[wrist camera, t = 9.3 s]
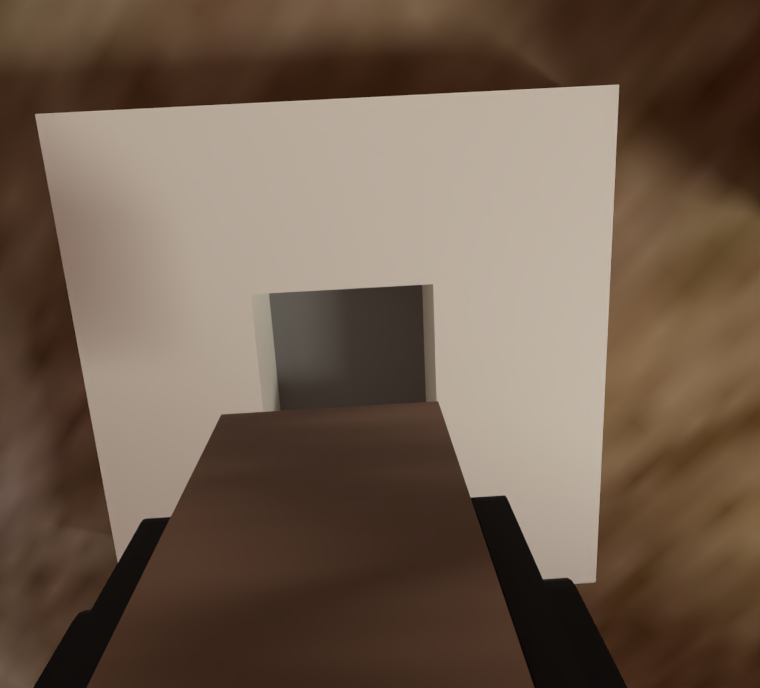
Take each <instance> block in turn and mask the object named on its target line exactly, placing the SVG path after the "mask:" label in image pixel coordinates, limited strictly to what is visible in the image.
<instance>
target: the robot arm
mask: <svg viewBox="0 0 760 688" xmlns="http://www.w3.org/2000/svg"><path fill="white" fill-rule="evenodd" d="M471 500H472V503H473V506H474V509H475V512H476V515H477V518H478V521H479V524H480V527H481V530H482V533H483V536H484V539H485V542H486V545H487V548H488V551H489V554H490V557H491V560H492V563H493V566H494V569H495V572H496V575H497V578H498V581H499V584H500V587H501V590H502V593H503V596H504V599H505V602H506V605H507V608H508V611H509V614H510V616H511V619H512V622H513V625H514V628H515V631H516V634H517V637H518V640H519V643H520V646H521V649H522V652H523V655H524V658H525V661H526V664H527V667H528V670H529V673H530V676H531V679H532V682H533V685H534V688H627V686H626V684H625V682H624V680H623V678H622V676H621V674H620V673H619V671H618V669H617V667H616V665H615V663H614V661H613V659H612V657H611V655H610V653H609V651H608V649H607V647H606V645H605V643H604V641H603V639H602V637H601V635H600V633H599V631H598V629H597V627H596V625H595V623H594V621H593V619H592V617H591V615H590V613H589V611H588V610H587V608H586V606H585V604H584V602H583V600H582V598H581V596H580V594H579V592H578V590H577V588H576V586H575V585H574V583H573V582H572V580H571V579H569V578H555V579H543V578H542V576H541V574H540V572H539V569H538V567H537V565H536V563H535V560H534V558H533V556H532V553H531V551H530V549H529V547H528V544H527V542H526V540H525V538H524V535H523V533H522V531H521V528H520V526H519V524H518V522H517V519H516V517H515V515H514V513H513V510H512V508H511V506H510V503H509V501H508V499H507V497H506V496H504V495H503V496H487V497H472V498H471ZM170 518H171V517H163V518H147V519H143V520H142V522H141V523H140V525H139V526H138V528H137V530H136V532H135V533H134V535H133V537H132V539H131V541H130V542H129V544H128V546H127V548H126V549H125V551H124V553H123V555H122V556H121V558H120V560H119V562H118V563H117V565H116V567H115V569H114V571H113V572H112V574H111V576H110V578H109V579H108V581H107V583H106V585H105V586H104V588H103V590H102V592H101V594H100V595H99V597H98V599H97V601H96V602H95V604H94V606H93V608H92V609H91V610H85V611H83V612H81V613H79V614H78V615H77V616H76V618H75V619H74V620H73V622H72V623H71V625H70V627H69V628H68V630H67V632H66V633H65V635H64V637H63V639H62V640H61V642H60V644H59V645H58V647H57V649H56V650H55V652H54V654H53V655H52V657H51V659H50V661H49V662H48V664H47V666H46V667H45V669H44V671H43V672H42V674H41V676H40V677H39V679H38V681H37V683H36V684H35V686H34V688H87V686H88V684H89V682H90V680H91V678H92V676H93V674H94V672H95V670H96V668H97V666H98V664H99V661H100V659H101V657H102V655H103V653H104V651H105V649H106V647H107V645H108V643H109V641H110V639H111V637H112V635H113V633H114V631H115V629H116V627H117V625H118V623H119V621H120V619H121V617H122V615H123V613H124V611H125V609H126V607H127V605H128V603H129V601H130V599H131V597H132V595H133V593H134V591H135V588H136V586H137V584H138V582H139V580H140V578H141V576H142V574H143V572H144V570H145V568H146V566H147V564H148V562H149V560H150V558H151V556H152V554H153V552H154V550H155V548H156V546H157V544H158V542H159V540H160V538H161V536H162V534H163V532H164V530H165V528H166V526H167V524H168V522H169V520H170Z"/></svg>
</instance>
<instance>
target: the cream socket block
mask: <svg viewBox="0 0 760 688" xmlns="http://www.w3.org/2000/svg"><path fill="white" fill-rule="evenodd" d="M618 101H619V85H600V86H580V87H560V88H540V89H521V90H501V91H481V92H461V93H441V94H421V95H402V96H382V97H362V98H342V99H322V100H302V101H283V102H263V103H243V104H223V105H203V106H183V107H164V108H144V109H124V110H104V111H84V112H64V113H45V114H35V118H36V123H37V128H38V134H39V139H40V145H41V150H42V155H43V161H44V166H45V172H46V177H47V183H48V188H49V193H50V199H51V204H52V210H53V215H54V221H55V226H56V231H57V237H58V242H59V248H60V253H61V258H62V264H63V269H64V275H65V280H66V286H67V291H68V296H69V302H70V307H71V313H72V318H73V324H74V329H75V334H76V340H77V345H78V351H79V356H80V361H81V367H82V372H83V378H84V383H85V389H86V394H87V399H88V405H89V410H90V416H91V421H92V427H93V432H94V437H95V443H96V448H97V454H98V459H99V464H100V470H101V475H102V481H103V486H104V492H105V497H106V502H107V508H108V513H109V519H110V524H111V530H112V535H113V540H114V546H115V551H116V557H117V562H119V560H120V558H121V556H122V555H123V553H124V551H125V549H126V548H127V546H128V544H129V542H130V541H131V539H132V537H133V535H134V533H135V532H136V530H137V528H138V526H139V525H140V523H141V522H142V520H143V519H147V518H163V517H171V516H172V513H173V511H174V509H175V507H176V505H177V503H178V501H179V499H180V497H181V495H182V493H183V491H184V489H185V487H186V485H187V483H188V481H189V479H190V477H191V475H192V473H193V471H194V469H195V467H196V465H197V463H198V461H199V459H200V457H201V455H202V453H203V451H204V449H205V447H206V445H207V443H208V440H209V438H210V436H211V434H212V432H213V430H214V428H215V426H216V424H217V422H218V420H219V418H220V416H221V414H236V413H253V412H269V411H286V410H302V409H318V408H335V407H351V406H368V405H384V404H401V403H417V402H434V401H438V402H439V405H440V408H441V411H442V414H443V417H444V420H445V423H446V426H447V429H448V432H449V435H450V438H451V441H452V444H453V447H454V450H455V453H456V456H457V459H458V462H459V465H460V468H461V471H462V474H463V477H464V480H465V483H466V486H467V489H468V492H469V495H470V498H472V497H487V496H503V495H504V496H506V497H507V499H508V501H509V503H510V506H511V508H512V510H513V513H514V515H515V517H516V519H517V522H518V524H519V526H520V528H521V531H522V533H523V535H524V538H525V540H526V542H527V544H528V547H529V549H530V551H531V553H532V556H533V558H534V560H535V563H536V565H537V567H538V569H539V572H540V574H541V576H542V578H543V579H555V578H569V579H571V580H572V582H573V583H574V584H578V583H593V582H596V566H597V544H598V523H599V502H600V481H601V460H602V439H603V418H604V397H605V376H606V354H607V333H608V312H609V291H610V270H611V249H612V228H613V207H614V186H615V165H616V143H617V122H618Z"/></svg>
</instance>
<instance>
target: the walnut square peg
mask: <svg viewBox="0 0 760 688" xmlns="http://www.w3.org/2000/svg"><path fill="white" fill-rule="evenodd" d="M87 688H534V685H533V682H532V679H531V676H530V673H529V670H528V667H527V664H526V661H525V658H524V655H523V652H522V649H521V646H520V643H519V640H518V637H517V634H516V631H515V628H514V625H513V622H512V619H511V616H510V614H509V611H508V608H507V605H506V602H505V599H504V596H503V593H502V590H501V587H500V584H499V581H498V578H497V575H496V572H495V569H494V566H493V563H492V560H491V557H490V554H489V551H488V548H487V545H486V542H485V539H484V536H483V533H482V530H481V527H480V524H479V521H478V518H477V515H476V512H475V509H474V506H473V503H472V500H471V498H470V495H469V492H468V489H467V486H466V483H465V480H464V477H463V474H462V471H461V468H460V465H459V462H458V459H457V456H456V453H455V450H454V447H453V444H452V441H451V438H450V435H449V432H448V429H447V426H446V423H445V420H444V417H443V414H442V411H441V408H440V405H439V402H438V401H434V402H417V403H401V404H384V405H368V406H351V407H335V408H318V409H302V410H286V411H269V412H253V413H236V414H221V416H220V418H219V420H218V422H217V424H216V426H215V428H214V430H213V432H212V434H211V436H210V438H209V440H208V443H207V445H206V447H205V449H204V451H203V453H202V455H201V457H200V459H199V461H198V463H197V465H196V467H195V469H194V471H193V473H192V475H191V477H190V479H189V481H188V483H187V485H186V487H185V489H184V491H183V493H182V495H181V497H180V499H179V501H178V503H177V505H176V507H175V509H174V511H173V513H172V516H171V518H170V520H169V522H168V524H167V526H166V528H165V530H164V532H163V534H162V536H161V538H160V540H159V542H158V544H157V546H156V548H155V550H154V552H153V554H152V556H151V558H150V560H149V562H148V564H147V566H146V568H145V570H144V572H143V574H142V576H141V578H140V580H139V582H138V584H137V586H136V588H135V591H134V593H133V595H132V597H131V599H130V601H129V603H128V605H127V607H126V609H125V611H124V613H123V615H122V617H121V619H120V621H119V623H118V625H117V627H116V629H115V631H114V633H113V635H112V637H111V639H110V641H109V643H108V645H107V647H106V649H105V651H104V653H103V655H102V657H101V659H100V661H99V664H98V666H97V668H96V670H95V672H94V674H93V676H92V678H91V680H90V682H89V684H88V686H87Z"/></svg>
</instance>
